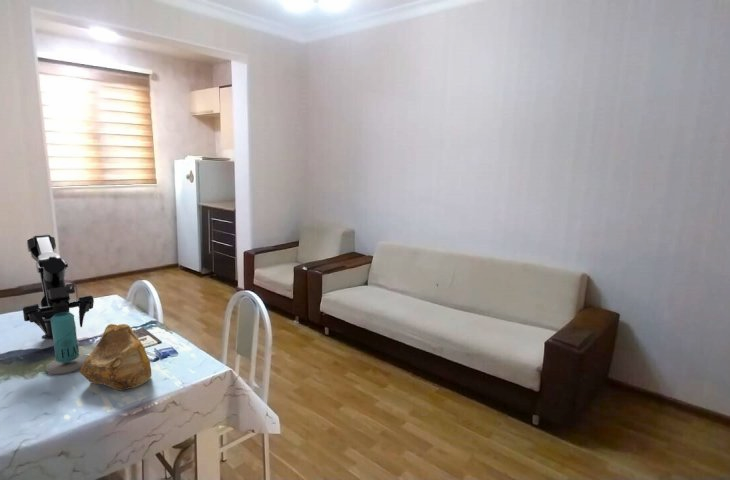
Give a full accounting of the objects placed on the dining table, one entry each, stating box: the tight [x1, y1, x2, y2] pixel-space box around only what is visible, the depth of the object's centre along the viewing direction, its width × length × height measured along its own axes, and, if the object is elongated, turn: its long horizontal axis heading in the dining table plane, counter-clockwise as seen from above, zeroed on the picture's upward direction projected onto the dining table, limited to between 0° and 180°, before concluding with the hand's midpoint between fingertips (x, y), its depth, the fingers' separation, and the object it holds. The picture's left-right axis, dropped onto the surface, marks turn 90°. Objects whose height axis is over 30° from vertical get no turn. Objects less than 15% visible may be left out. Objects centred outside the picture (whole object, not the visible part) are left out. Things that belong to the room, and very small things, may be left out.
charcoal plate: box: [45, 353, 90, 376], centre depth 136 cm, size 12×12×1 cm
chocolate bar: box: [132, 327, 162, 348], centre depth 157 cm, size 9×1×18 cm
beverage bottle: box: [50, 302, 80, 363], centre depth 134 cm, size 6×7×20 cm
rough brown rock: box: [79, 323, 152, 392], centre depth 126 cm, size 23×17×15 cm
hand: (64, 330), depth 135 cm, fingers open, 9 cm apart
